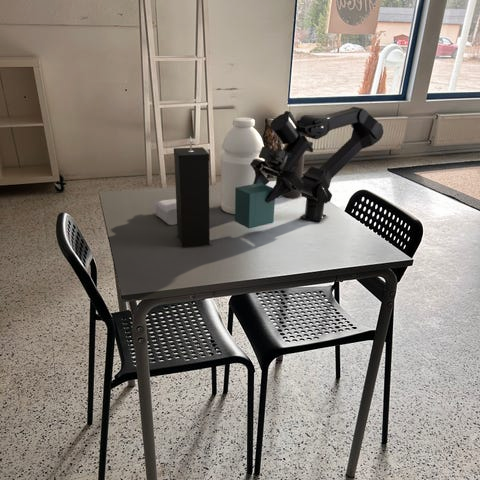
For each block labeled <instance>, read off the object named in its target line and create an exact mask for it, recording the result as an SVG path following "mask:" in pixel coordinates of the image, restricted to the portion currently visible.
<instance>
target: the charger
mask: <svg viewBox="0 0 480 480" xmlns="http://www.w3.org/2000/svg"><path fill="white" fill-rule="evenodd" d="M155 215H156V216H157V217H159V218H160V219H161V220H162V221H164V222H165V223H166V224H167V225H169V226H173V225H177V208H176V198H172V199H161V200H158V201H157V202H156V203H155Z"/></svg>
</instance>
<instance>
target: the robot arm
mask: <svg viewBox="0 0 480 480" xmlns="http://www.w3.org/2000/svg"><path fill="white" fill-rule="evenodd" d="M347 126H351V128H352V131H351V136H350V138H349V139H348V140H347V141H346V142H345V143H344V144H343V145H342V146H341V147H340V148H339V149H337V151H336V152H334V154H333V155H331V156H330V158H328V159H327V160H326V162H324V163H323V164H322V165H321V166H320V167H315V166H313V165H312V166H310V167H309V168H308V169H307V170H306V171H305V172H303V174H302V175H303V176H302V178H301V179H300V177H299V176H298V175H297V173H296V172H293V171H292V169H293V168H294V167H295V168H298V166H299V164H298V161H299V160H300V158H301V157H302V156H303V154H306V152H308V153H314V147H313V146H314V142H312V141H309V140H308V138H309V139H313V140H320V139H321V138H323V137H325V136H327V135H328V133H329V132H331V131H332V130H336V129H340V128H344V127H347ZM270 130H271V131H272V133H273V134H274V135H275V136H276V138H277V139H278V140H279V142H280V143H281V144H283V145H284V146H283V147H282V148H279V147H277V148H276V149H275V150H274V149H272V148H270V147H266V146H264V147H263V146H262V149H261V151H260V154H259V158H263V159H264V160H265V161H266V162H265V161H263V160H260V159H254V160H253V161H252V162H251V164H250V165H251V166H252V168H253V170H254V171H255V180H254V183H253V184H257V183H262V184H265V185H268V183H270V180H269V179H270V178H271V177H273V178H276V179H275V184H274V186H273V187H272V188H273V189H272V190H271V192H270V193H269V195H268V196H267V198H266V200H265V201H266V202H267V203H269V202H271V201H273V200H274V199H275V200H276V199H279V198H280V197H283V195H284V194H287V193H289V192H293V190H295V191H298V192H299V191H301V195H300V197H302V198H305V199H306V201H305V210H304V214H302V216H300V219H301V220H307V221H311V222H316V223H321V222H322V221H323V220H324V219H325V218H326V217H327V214H324V208H325V204H328V203H330V202H331V200H332V198H333V194H332V192H331V191H330V190H329V188H330V186H331V182H332V179H333V178H334V177H336V176H337V174H338V173H339V172H340V171H341V170H342V169H343V168H344V167H346V166H347V164H349V163H350V162H351V160H352V159H354V158H355V157H356V156H357V155H358V154H359V153H360V152H361V151H362V150H363V149H367V148H370V147H372V146H374V145H375V144H377V143H378V142H379V141H380V140H381V139H382V138H383V135H384V126H383V124H382V123H380V122H379V121H378V120H377V119H376V118H375V117H373V116H372V115H371V114H369V112H368V110H366V109H365V108H362V107H358V106H352V107H350V108H347V109H342V110H339V111H335V112H331V113H328V114H324V115H319V114H304V115H302V116H300V119H295V117H294V115H293V113H292V112H291V111H288V110H285V111H284V112H283V113H282V114H279V115H278V116H276V117H275V118H273V119H272V121H271V122H270Z"/></svg>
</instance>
